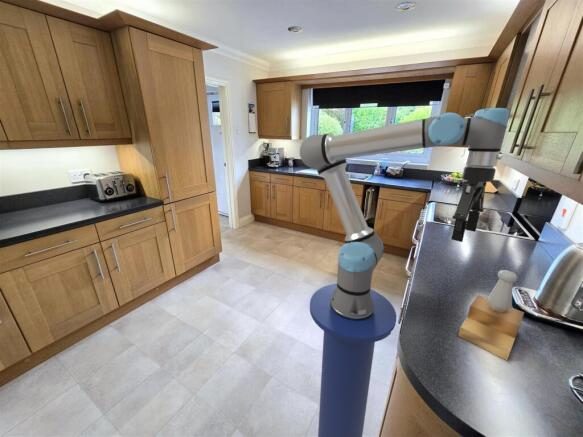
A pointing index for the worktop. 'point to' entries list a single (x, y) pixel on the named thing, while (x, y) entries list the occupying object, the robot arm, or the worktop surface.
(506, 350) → the stepped wooden block
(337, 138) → the robot arm
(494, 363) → the worktop surface
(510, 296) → the salt shaker
